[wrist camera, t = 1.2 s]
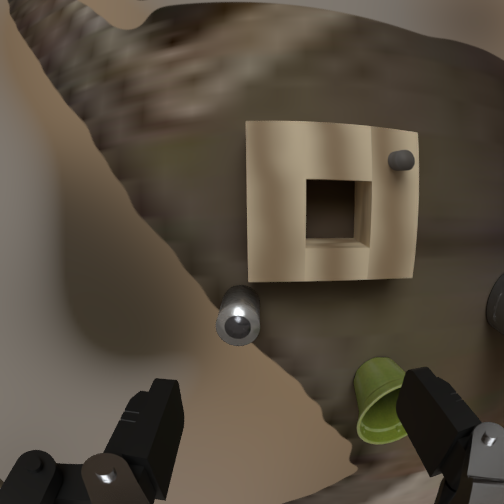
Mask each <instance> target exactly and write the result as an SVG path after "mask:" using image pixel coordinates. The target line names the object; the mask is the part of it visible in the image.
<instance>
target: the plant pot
mask: <svg viewBox="0 0 504 504" xmlns="http://www.w3.org/2000/svg"><path fill="white" fill-rule="evenodd" d="M405 373H406V372H404V371H403V370H402V369H401V368H400V367H399V366H398V365H397V364H396V363H395V362H394V361H393V360H391V359H390V358H387V357H385V358H378V357H376V358H373V359H370V360H368V361H367V362H365V363H364V364H363V365H362V366H361V367H360V368H359V369H358V370H357V372H356V375H355V378H354V388H355V393H356V398H357V403H358V409H359V417H358V422H357V433H358V435H359V437H360V438H361V439H362V440H363V441H365V442H367V443H370V444H386V443H390V442H394V441H396V440H399V439H401V438H403V437H405V436H407V433H406V431H405V429H404V427H403V426H402V424H401V422H400V420H399V418H398V416H397V413H396V402H397V399H398V395H399V392H400V389H401V386H402V383H403V379H404V376H405Z"/></svg>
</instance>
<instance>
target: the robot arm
mask: <svg viewBox="0 0 504 504" xmlns="http://www.w3.org/2000/svg"><path fill="white" fill-rule="evenodd" d="M487 320H488V322H489V324H490V325H491V326H492V327H493V328H495V329H496V330H497V331H499V332H500V333H501V334H503V335H504V274H503V275H502V276H501V277H500V278H499V279H498V281H497V282H496V284H495V285H494V287H493V289H492V291H491V294H490V296H489V300H488V304H487ZM396 413H397V416H398V418H399V420H400V422H401V424H402V426H403V427H404V429H405V431H406V433H407V435H408V437H409V438H410V440H411V442H412V444H413V446H414V448H415V449H416V451H417V453H418V455H419V457H420V459H421V461H422V463H423V464H424V466H425V468H426V470H427V472H428V474H429V476H430V477H433V476H436V475H439V474H441V473H442V474H443V476H444V478H443V479H442V481H441V483H440V487H439V490H438V493H437V497H436V500H435V503H434V504H504V429H503V428H502V427H501V426H500V425H498V424H496V423H492V422H484V423H482V422H481V421H480V420H479V419H478V417H477V416H476V415H475V414H474V412H473V411H472V410H471V409H470V408H469V406H468V405H467V404H466V403H465V402H464V400H462V398H461V397H460V396H459V395H458V393H457V394H456V391H455V390H454V389H453V388H452V386H451V385H450V384H449V383H447V382H446V381H444V380H442V379H441V378H439V377H436V376H435V375H434V374H433V373H432V371H431V370H430V369H429V368H428V367H421V368H416V369H410V370H408V371H407V372H406V373H405V376H404V379H403V383H402V386H401V389H400V392H399V395H398V399H397V402H396ZM183 428H184V410H183V405H182V400H181V394H180V389H179V383H178V381H177V380H168V379H158V378H156V379H155V380H154V381H153V383H152V385H151V388H150V390H149V392H146V391H140V392H138V393H137V394H136V395H135V396H134V397H132V398H131V399H130V401H129V403H128V404H127V406H126V408H125V412H124V413H123V414H122V417H121V420H120V421H119V422H118V424H117V426H116V428H115V430H114V432H113V434H112V436H111V438H110V440H109V442H108V444H107V446H106V448H105V450H104V452H103V453H100V454H96V455H93V456H91V457H90V458H88V459H87V460H86V461H85V463H84V464H60V463H56V462H55V461H54V459H53V458H52V457H51V455H49V454H48V453H46V452H44V451H40V450H32V451H28V452H26V453H24V454H22V455H21V456H20V457H19V458H18V460H17V461H16V463H15V465H14V466H13V468H12V470H11V471H10V473H9V475H8V477H7V479H6V480H5V482H4V484H3V485H2V487H1V489H0V504H153V503H154V500H155V499H159V500H166V496H167V492H168V488H169V484H170V480H171V476H172V472H173V467H174V464H175V459H176V456H177V452H178V448H179V444H180V440H181V436H182V432H183Z"/></svg>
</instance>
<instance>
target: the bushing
mask: <svg viewBox="0 0 504 504" xmlns="http://www.w3.org/2000/svg"><path fill="white" fill-rule="evenodd" d="M216 330H217V333H218V335H219V337H220V338H221V339H222V340H223V341H224V342H226V343H228V344H230V345H234V346H244V345H247V344H249V343H251V342H253V341H254V340H255V339H256V338H257V336H258V334H259V331H260V300H259V297H258V294H257V293H256V292H255V291H254V290H253V289H252V288H250V287H248V286H245V285H237V286H233V287H231V288H230V289H229V290H227V292H226V293H225V295H224V297H223V301H222V304H221V307H220V311H219V314H218V318H217V321H216Z"/></svg>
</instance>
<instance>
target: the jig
mask: <svg viewBox="0 0 504 504" xmlns="http://www.w3.org/2000/svg"><path fill="white" fill-rule="evenodd" d="M246 173H247V236H248V282H299V281H341V280H371V279H396V278H412V276H413V268H414V259H415V249H416V238H417V223H418V202H419V150H418V133H416V132H410V131H403V130H396V129H389V128H381V127H372V126H363V125H352V124H340V123H325V122H304V121H246ZM306 180H336V181H355V208H354V237H353V238H306Z"/></svg>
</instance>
